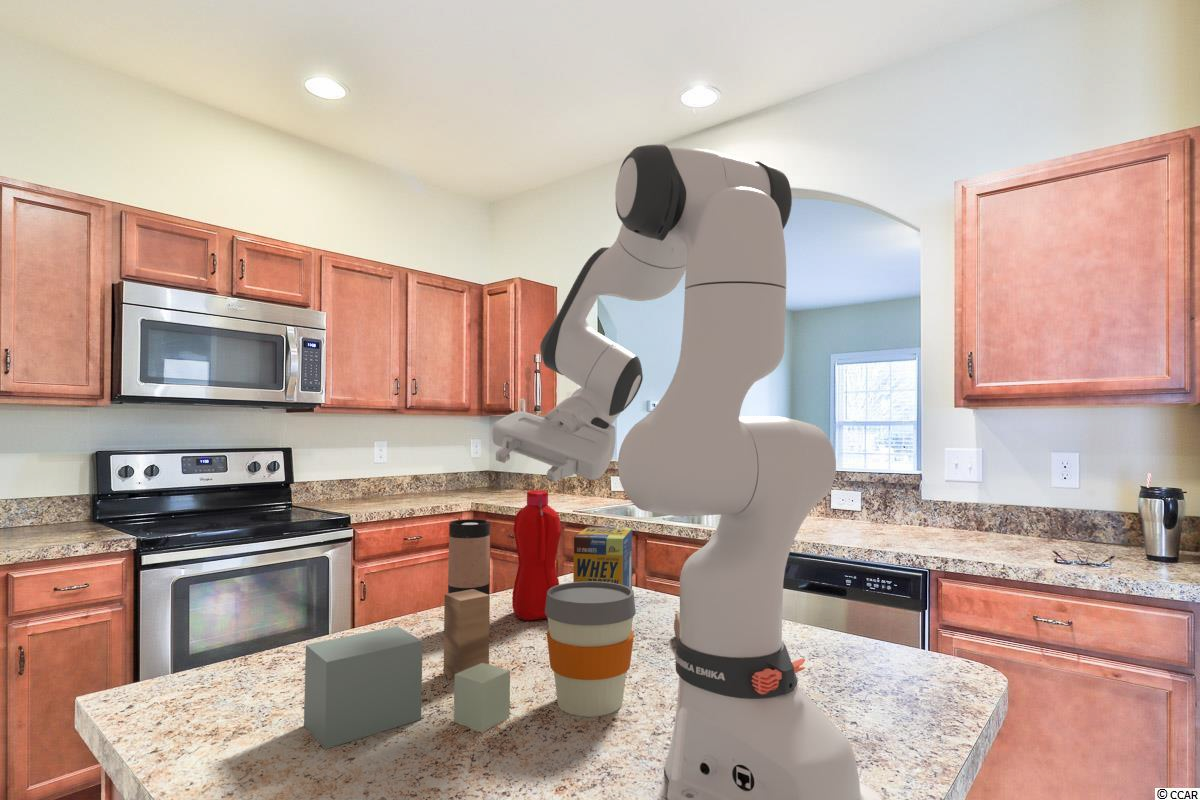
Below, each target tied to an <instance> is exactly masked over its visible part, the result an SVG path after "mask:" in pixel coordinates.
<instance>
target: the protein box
mask: <svg viewBox="0 0 1200 800" xmlns="http://www.w3.org/2000/svg"><path fill="white" fill-rule="evenodd" d="M572 569H573V574H572V575H573V580H572V581H573V582H585V581H597V582H610V583H616V584H621V585H624V586H627V587H629V588H631V589H632V590H633V528H632V527H618V526H617V527H613V526H612V527H611V526H594V525H591V526H590V525H589V526H587V527H585V528H584V529H583V530H581V531H580V532H579V533H577V534H576V535H574V537H573V568H572Z"/></svg>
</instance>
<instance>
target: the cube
mask: <svg viewBox="0 0 1200 800" xmlns="http://www.w3.org/2000/svg"><path fill="white" fill-rule="evenodd" d="M453 681H454V684H453V685H454V688H453V689H454V692H453V693H454V694H453V696H454V699H453V722H454V723H456V724H459V725H462V726H464V727H467V728H469V729H472V730H475V731H477V732H480V733H483V732H485V731H487V730H489V729H491V728H493V727H494V726H496V725H498V724H500V723H502V722H504V721H506V720H507V719H510V717H511V715H510V713H511V712H510V711H511V710H510V709H511V708H510V705H511V704H510V703H511V701H510V700H511V670H510V669H505V668H502V667H498V666H495V665H491V664H489V665H488V664H485V663H481V664H478V665H476V666H473V667H471V668H469V669H466V670H464V671H462V672H459V673H457V674H455V678H454V680H453Z"/></svg>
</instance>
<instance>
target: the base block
mask: <svg viewBox="0 0 1200 800" xmlns="http://www.w3.org/2000/svg"><path fill="white" fill-rule="evenodd" d="M304 661H305V663H304V664H305V665H304V672H305V673H304V703H303V704H304V705H303V706H304V709H303V712H304V713H303V726H304V728H305V729H307V731H308V732H309V733H310V735H312V737H314V739H315V740H316V741H317V742H318V743H319V744H320V745H321V747H322V748H323V749H324V750H327V749H331V748H334V747H337V746H340V745H344V744H346V743H350V742H352V741H356V740H359V739H362V738H366V737H368V736H373V735H376V734H378V733H381V732H384V731H385V732H386V731H388V730H392V729H395V728H398V727H402V726H405V725H407V724H411V723H415V722H417V721H420V720H421V721H422V701H423V700H422V697H423V696H422V695H423V694H422V691H423V689H422V688H423V640H422V639H420V638H419V637H417V636H415V635H414V634H411V633H410V632H408V631H406V630H405V629H403V628H401V627H399V626H391V627H386V628H380V629H376V630H371V631H367V632H362V633H357V634H352V635H347V636H342V637H338V638H332V639H327V640H324V641H323V640H322V641H318V642H313V643H308V644H305V660H304Z"/></svg>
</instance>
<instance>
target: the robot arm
mask: <svg viewBox="0 0 1200 800" xmlns="http://www.w3.org/2000/svg"><path fill="white" fill-rule="evenodd" d="M616 179H617V180H616V184H615V192H614V193H615V209H616V214H617V216H618V219H619V220H620V221H621V226H620V229H619V231H618V236H617V237H616V239H615V241H614V242H613V244H612V245H611V246H610V247H607V246H606V247H599V249H598V250H596V251H595V252H594V253H593V254H592V255H591V256H590V257H589V258H588V259H587V260H586V262H585V263H584V265H583V267H582V268H581V270H580V271H579V274H578V275H577V276H576V278H575V281H574V282H573V284H572V286H571V289H570V290H569V291H568V294H567V296H566V298H565V300H564V301H563V303H562V305H561V307H560V309H559V311H558V313H557V315H556V318H555V319H554V321H553V322H552V324H551V325H550V327H549V328H548V330H547V331H546V332H545V334H544V335H543V338H542V341H541V342H540V345H539V349H540V355H541V359H542V362H543V364H544V366H545V367H546V368H548V369H550V370H551V371H553V372H555V373H557V374H559V375H561V376H564V378H567V379H569V380H570V381H571V382H573V383H574V384H576V385H578V386H579V388H578V389H576V390H574V392H573V393H572V394H571V395H570V397H567V398H565V399H564V400H562V401H561V402H560V403H558V404H557V405H556V406H555V407H554V408H552V409H551V410H549V411H548V412H547V413H546V415H545V416H544V417H542V416H539V415H536V414H534V413H530V412H528V411H527V412H526V411H519V410H518V411H515V412H512V413H509V414H508V415H506V416H504V417H501V418H500V419H498V420H497V421H495V422H494V423H493V425H492V428H491V429H492V430H491V433H492V435H491V436H492V443H493V445H495V446H498V447H500V448H499V449H498V450H497V451H496V452H495V461H498V462H500V463H503V464H505V463H506V462H508V461H509V460H510V459H511V456H510V453H511V452H513V453H514V452H515V453H517V454H520V455H521V456H522V455H523V456H525V457H527V458H530V459H533V460H536V461H538V462H542V463H544V464H547V465H549V466H551V467H550V468H549V469H548V470H547V472H546V480H548V481H550V482H552V483H557V482H558V481H559V480H561V479H564V478H569V477H573V476H574V475H577V476H579V477H581V478H585V479H587V480H590V481H593V480H598V479H600V478H602V476H603V475H604V474H605V472H606V471H607V470H608V468H609V465H610V462H611V461H612V460H613V458H614V453H615V448H616V427H615V426H614V425H613V423H614V422H615V421H616V420H617V418H618V417H619V415H621V413H622V412H624V411H625V410H626V409H627V408H628V406H630V404H631V403H632V402H633V401H634V399H635V397H637V394H638V392H639V390H640V388H641V386H642V383H643V378H644V375H643V367H642V364H641V360H640V358H639V356H637V355H636V354H634V353H633V352H632V351H630V350H628V349H627V348H625V347H623V346H622V345H620V344H618V343H617V342H614V341H613V340H611V339H610V338H608V337H607V336H605V335H603V334H601V333H600V332H598V331H596V330H595V329H594V328H593V327H591V326H590V324H589V322H588V321H587V318H588V317H589V314H590V312H591V310H592V309H593V307H594V305H595V303H596V302H597V299H598V298H599V297H600V296H609V297H610V296H611V297H616V298H621V299H625V300H628V301H636V302H644V301H645V302H646V301H652V300H657V299H660V298H663V297H665V296H666V295H668V294H670V293H671V292H673V290H675V288H676V287H677V286H678V284H679V283H680V281H681V280H682V277H683V276H684V274H685V279H684V300H683V301H684V303H683V305H684V306H683V318H682V321H683V322H682V333H681V341H680V342H681V344H680V352H679V358H678V362H677V366H676V369H675V372H674V374H673V378H672V379H671V382H670V384H669V385H668V388H667V390H666V392H664V394H663V396H662V397H661V399H660V400H659V401H658V403H657V404H656V405H655V406H654V408H653V409H652V410H651V411H650V412H649V413H648V414H646V416H644V417H643V418H642V419H641V420H639V421H638V422H636V423H635V424H634V425H633V426H632V427H631V428H630V430H629V431H628V432H627V434H626V435H625V437H624V439H623V440H622V443H621V445H620V449H619V452H618V457H617V458H618V459H617V471H618V473H617V474H618V478H619V482H620V483H621V488H622V489H623V491H624V493H625V495H626V496H627V498H628V499H629V500H630V502H631V503H632V504H634V506H635V507H636V508H637V509H639V510H641V511H645V512H650V513H656V514H660V515H666V516H667V515H668V516H673V517H678V518H679V517H682V518H683V517H698V516H700V517H702V516H716V515H717V516H718V515H720V519H719V523H718V525H717V528H716V529H715V531H714V533H713V534H712V536H711V538H709V540H708V542H706V544H705V545H704V546H702V547H700V548H699V549H698V550H696V551H695V552H693V553H692V554H691V555H690V556H689V557H688V558H687V560H685V562H684V564H683V566H682V569H681V570H680V574H679V612H680V635H679V636H678V637H677V639H676V641H675V642H676V643H675V654H674V659H675V672H676V674H677V675H678V687H677V700H676V708H675V717H674V725H673V731H672V736H671V737H672V738H671V742H670V747H669V750H668V753H667V755H666V756H667V757H666V759H665V763H664V770H665V774H666V776H667V779H668V781H669V782H668V785H667V793H666V796H667V797H666V798H667V800H883V799H884V798H883V795H882V794H881V793H880V792H879V791H876V790H875V789H873V788H872V787H870V786H868V785H867V784H865V783H863V782H861V781H860V777H859V769H858V766H857V759H856V755H855V752H854V748H853V746H852V743H851V742H850V739H848V737H847V735H845V733H844V732H843V731H841V729H840V728H839V727H837V725H836V724H835V723H834V722H832V720H831V719H830V718H829V717H828V716H827V715H826V714H825V713H824V712H823V711H822V710H821V708H819V706H818V705H817V704H816V703H815V702H814V701H813V700H812V699H811V698H810V696H809V695H808V694H807V693H806V692H805V691H804V690H803V689H802V688H801V687H800V686H799V684H798V682H799V680H798V678H797V675H796V673H797V674H798V673H799V672H801V671H804V670H805V669H806V667H805V666H803V664H804V663H805V661H806V659H805V658H802V657H801V658H800V659H797V660H795V661H792V660H791V659H792V658H791V657H790V655H789V651H788V648H787V646H786V644H785V642H784V641H783V595H784V593H783V592H784V580H785V579H784V578H785V571H786V566H787V564H788V563H787V562H788V559H789V556H790V552H791V549H792V546H793V545H794V544H793V543H794V541H795V539H796V537H797V534H798V532H799V530H800V529H801V527H802V525H803V523H804V522H805V520H806V518H807V517H808V515H809V514H810V512H811V511H812V510H813V509H814V508H815V507H816V505H818V504H819V503H820V502H821V501H822V500H823V499H825V497H826V496H827V495H828V494H829V493H830V490H831V489H832V487H833V484H834V481H835V478H836V473H837V459H836V454H835V450H834V447H833V444H832V442H831V441H830V439H829V437H828V436H827V434H826V433H825V432H824V430H822V429H821V428H820V427H818V426H817V425H814V424H812V423H809V422H805V421H801V420H799V419H793V418H789V417H784V416H780V415H741V410H742V406H743V403H744V399H745V398H746V395H747V394H748V392H749V390H750V389H751V388H752V386H753V385H754V384H756V382H758V381H760V380H762V379H764V378H765V377H767V376H769V375H770V374H771V373H773V372H774V371H775V370H776V369H777V368H778V367H779V366H780V364H781V362H782V360H783V357H784V354H785V339H786V338H785V336H786V304H787V256H786V255H787V254H786V243H785V235H784V229H785V228H786V225H788V221H789V218H790V215H791V211H792V204H793V196H792V190H791V185H790V182H789V178H788V177H787V176H786V174H785V173H784V172H783V171H782V170H780V169H778V168H777V167H774V166H773V165H770V164H768V163H765V162H763V161H750V160H747V159H744V158H740V157H738V156H737V157H736V156H732V155H729V154H723V153H720V152H717V151H715V150H711V149H704V148H703V149H702V148H695V147H694V148H691V147H668V146H667V145H666V144H663V143H662V144H660V143H659V144H646V145H639V146H636V147H635V148H633V150H632V151H630V153H628V155H626V157H625V159H624V160H623V162H622V164H621V166H620V169H619V173H618V175H617V178H616ZM800 666H801V667H800Z"/></svg>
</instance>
